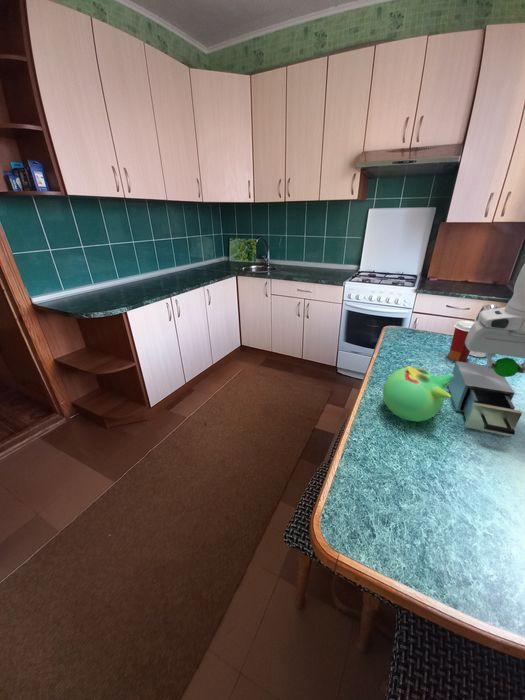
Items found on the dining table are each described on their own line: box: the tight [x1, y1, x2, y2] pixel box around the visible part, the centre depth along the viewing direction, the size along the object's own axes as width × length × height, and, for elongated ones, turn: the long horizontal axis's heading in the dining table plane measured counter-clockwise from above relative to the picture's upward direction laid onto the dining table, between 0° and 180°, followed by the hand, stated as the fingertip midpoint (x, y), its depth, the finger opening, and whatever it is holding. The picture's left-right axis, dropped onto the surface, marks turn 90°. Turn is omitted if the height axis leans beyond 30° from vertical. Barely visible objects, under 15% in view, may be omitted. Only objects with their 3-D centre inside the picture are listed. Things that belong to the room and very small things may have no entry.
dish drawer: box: [461, 388, 523, 437], centre depth 80 cm, size 19×10×8 cm, turn 159°
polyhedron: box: [494, 357, 519, 378], centre depth 74 cm, size 5×5×5 cm
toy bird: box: [382, 365, 454, 422], centre depth 84 cm, size 18×17×15 cm
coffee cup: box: [448, 320, 474, 363], centre depth 112 cm, size 8×8×15 cm
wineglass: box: [468, 304, 502, 358], centre depth 115 cm, size 8×8×20 cm
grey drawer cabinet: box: [447, 361, 515, 413], centre depth 89 cm, size 15×12×10 cm
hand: (504, 369), depth 75 cm, fingers closed on polyhedron, 5 cm apart
